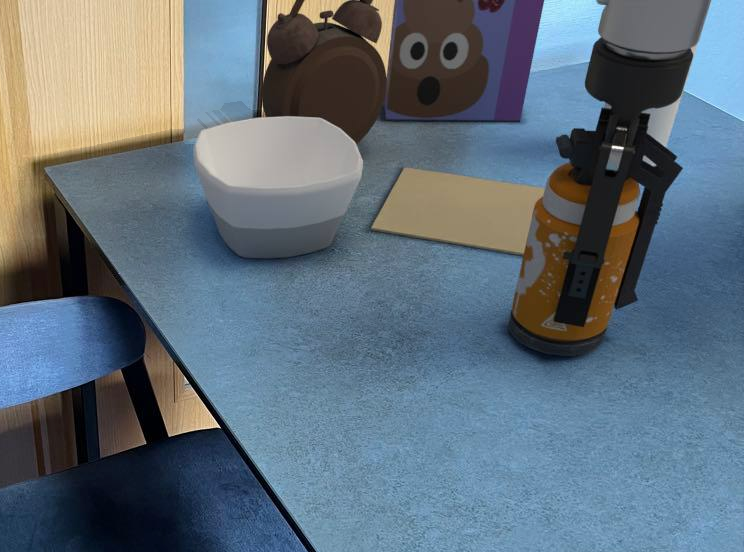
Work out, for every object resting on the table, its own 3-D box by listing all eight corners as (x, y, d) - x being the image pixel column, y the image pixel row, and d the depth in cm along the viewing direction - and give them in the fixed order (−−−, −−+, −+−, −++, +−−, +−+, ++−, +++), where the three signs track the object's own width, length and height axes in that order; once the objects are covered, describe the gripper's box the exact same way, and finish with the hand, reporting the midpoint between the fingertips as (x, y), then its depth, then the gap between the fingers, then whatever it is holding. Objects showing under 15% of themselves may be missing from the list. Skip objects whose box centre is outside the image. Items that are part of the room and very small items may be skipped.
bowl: (181, 204, 120) (178, 124, 113) (327, 187, 122) (333, 108, 116) (213, 282, 108) (212, 198, 101) (375, 262, 110) (385, 178, 103)
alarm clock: (353, 134, 133) (367, -37, 119) (382, 156, 128) (401, -20, 114) (252, 156, 129) (255, -18, 115) (279, 180, 124) (285, 1, 110)
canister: (502, 308, 103) (545, 107, 89) (615, 313, 102) (677, 110, 88) (512, 359, 97) (560, 152, 83) (632, 365, 96) (702, 156, 82)
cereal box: (385, 120, 136) (408, -87, 119) (383, 106, 139) (404, -98, 122) (519, 122, 135) (561, -87, 118) (514, 107, 138) (554, -98, 121)
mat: (572, 194, 120) (573, 192, 120) (553, 260, 110) (554, 258, 109) (404, 169, 126) (404, 167, 125) (370, 230, 115) (370, 227, 115)
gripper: (609, -6, 89) (550, 235, 105) (578, 87, 74) (516, 349, 90) (701, 4, 87) (627, 247, 103) (688, 101, 72) (605, 367, 88)
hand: (575, 295), depth 96 cm, fingers closed on canister, 9 cm apart
